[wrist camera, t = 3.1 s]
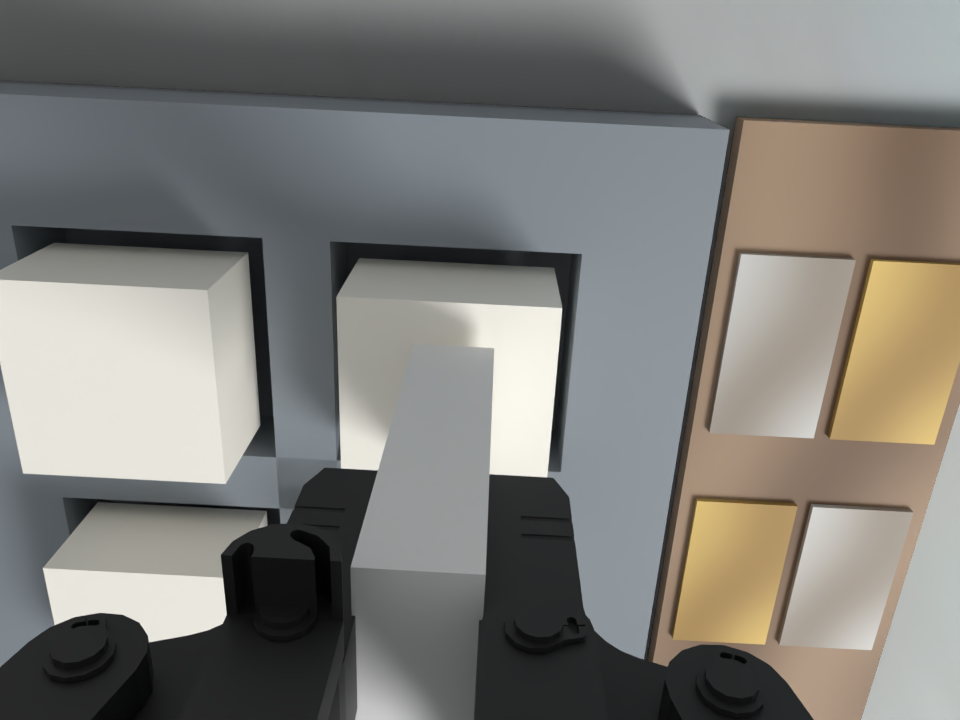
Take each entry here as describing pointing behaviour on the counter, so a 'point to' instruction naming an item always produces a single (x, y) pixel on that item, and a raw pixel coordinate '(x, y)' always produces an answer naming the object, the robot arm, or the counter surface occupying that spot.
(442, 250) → the button board
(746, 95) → the counter surface
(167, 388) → the button
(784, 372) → the card
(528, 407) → the button
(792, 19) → the counter surface
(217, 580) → the button
